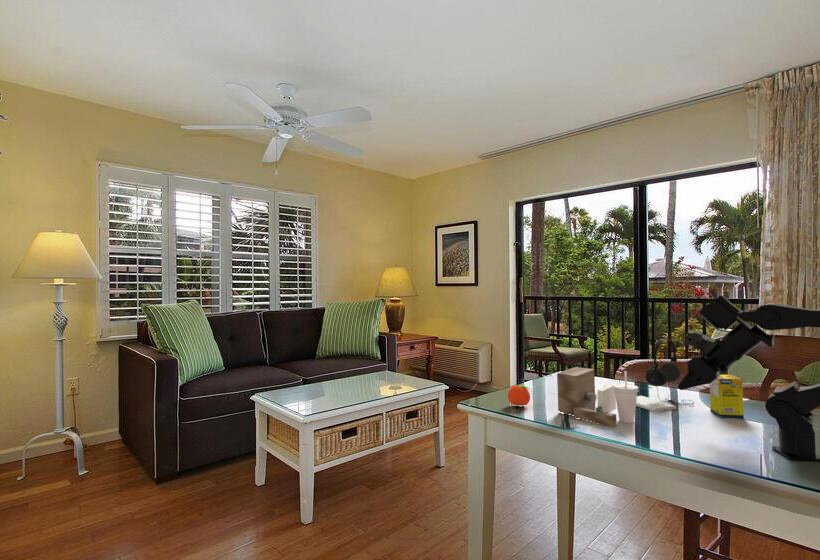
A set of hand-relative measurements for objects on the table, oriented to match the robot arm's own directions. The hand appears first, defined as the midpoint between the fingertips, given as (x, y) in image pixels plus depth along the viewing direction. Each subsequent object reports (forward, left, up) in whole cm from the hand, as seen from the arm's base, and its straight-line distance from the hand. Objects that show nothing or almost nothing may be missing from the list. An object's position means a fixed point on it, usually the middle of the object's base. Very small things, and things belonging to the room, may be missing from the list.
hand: (684, 384), depth 110 cm
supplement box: (+17, -17, -12) cm, 27 cm away
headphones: (+28, -7, -12) cm, 31 cm away
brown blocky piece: (+13, +19, -12) cm, 26 cm away
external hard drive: (+25, +1, -13) cm, 28 cm away
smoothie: (+8, +12, -12) cm, 19 cm away
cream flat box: (+10, +17, -11) cm, 22 cm away
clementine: (+19, +40, -12) cm, 46 cm away
